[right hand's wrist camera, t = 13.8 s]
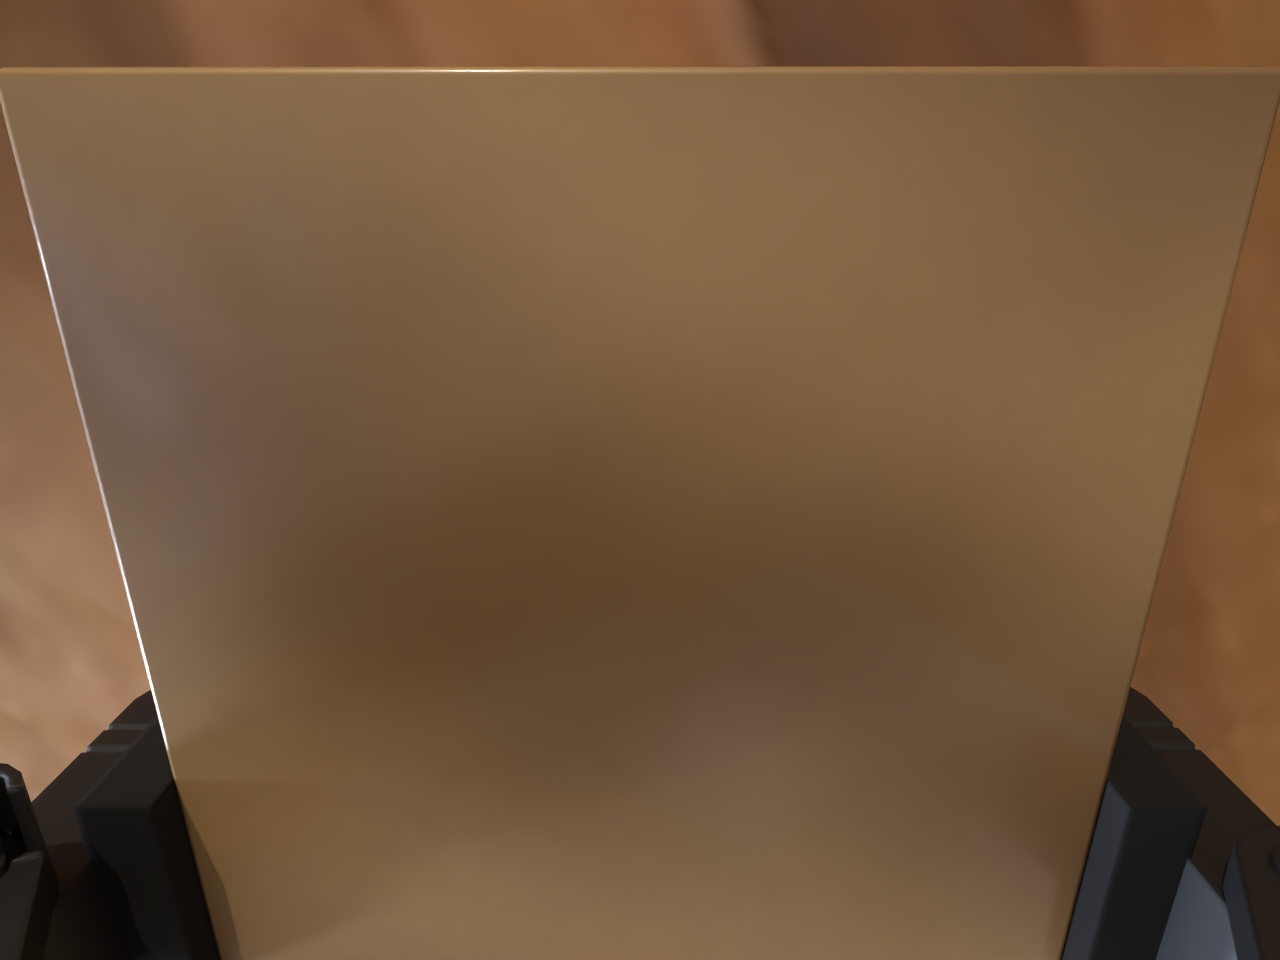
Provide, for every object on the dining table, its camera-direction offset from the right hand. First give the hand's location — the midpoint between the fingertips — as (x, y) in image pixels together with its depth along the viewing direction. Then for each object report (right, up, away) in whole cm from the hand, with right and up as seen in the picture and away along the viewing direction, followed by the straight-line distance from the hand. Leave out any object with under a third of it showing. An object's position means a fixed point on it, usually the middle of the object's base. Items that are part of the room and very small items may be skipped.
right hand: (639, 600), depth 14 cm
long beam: (0, -31, +12) cm, 33 cm away
